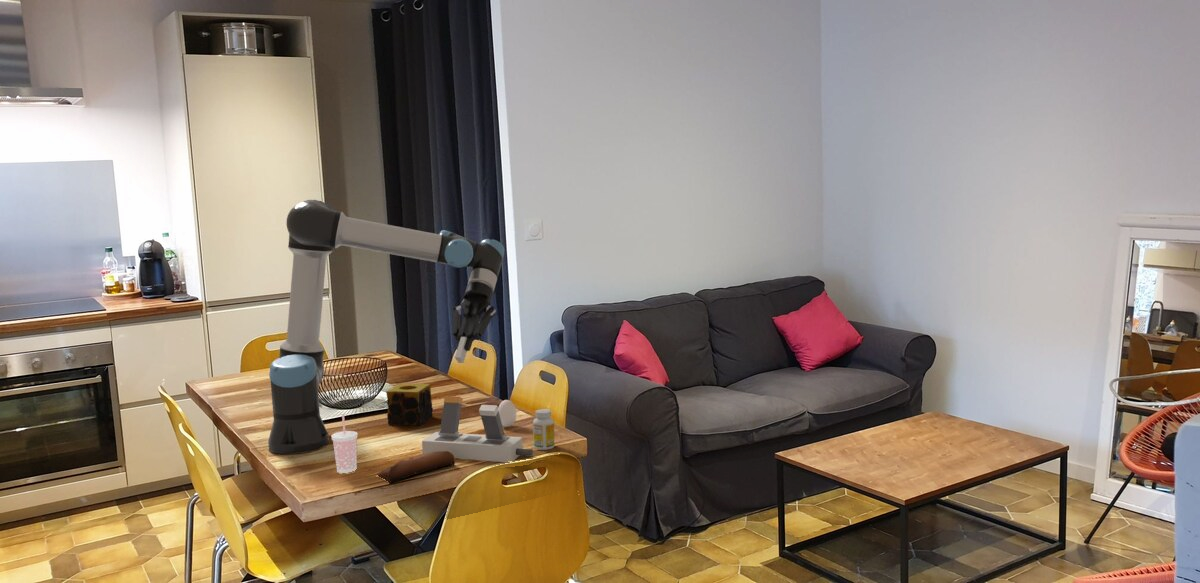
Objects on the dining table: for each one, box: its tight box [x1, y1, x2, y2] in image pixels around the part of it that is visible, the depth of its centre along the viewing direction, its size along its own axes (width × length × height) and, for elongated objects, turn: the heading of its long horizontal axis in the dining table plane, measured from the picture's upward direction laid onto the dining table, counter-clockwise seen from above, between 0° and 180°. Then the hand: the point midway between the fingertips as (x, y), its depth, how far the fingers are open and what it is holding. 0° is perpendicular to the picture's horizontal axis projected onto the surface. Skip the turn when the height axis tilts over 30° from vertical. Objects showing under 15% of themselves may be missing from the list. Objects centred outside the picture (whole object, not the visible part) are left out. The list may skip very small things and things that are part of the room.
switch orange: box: [437, 395, 464, 437], centre depth 231 cm, size 2×5×10 cm, turn 74°
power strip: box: [421, 431, 534, 463], centre depth 228 cm, size 28×8×4 cm, turn 73°
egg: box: [498, 399, 517, 428], centre depth 252 cm, size 5×5×8 cm
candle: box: [385, 383, 434, 427], centre depth 261 cm, size 10×10×10 cm
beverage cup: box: [331, 413, 358, 474], centre depth 218 cm, size 6×6×14 cm
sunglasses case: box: [376, 451, 456, 485], centre depth 217 cm, size 18×7×7 cm
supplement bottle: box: [532, 408, 555, 451], centre depth 233 cm, size 5×5×10 cm
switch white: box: [478, 404, 507, 440], centre depth 224 cm, size 2×5×10 cm, turn 73°
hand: (459, 360), depth 239 cm, fingers closed
